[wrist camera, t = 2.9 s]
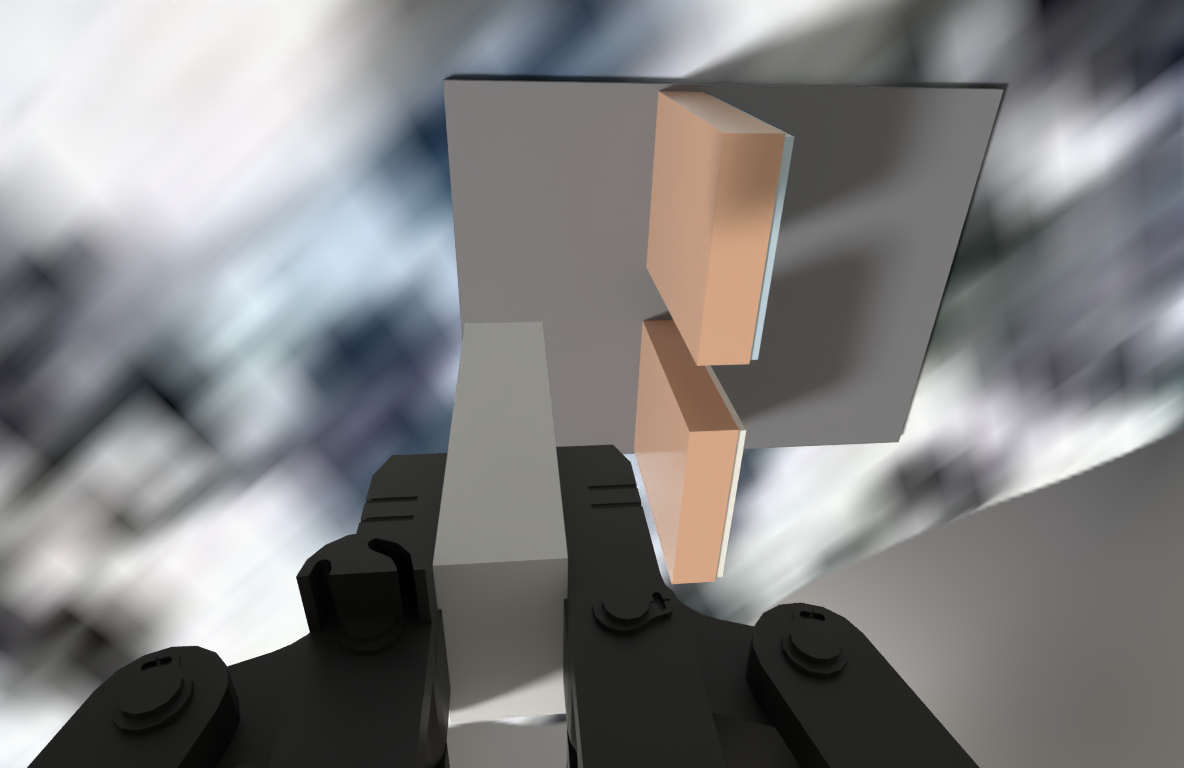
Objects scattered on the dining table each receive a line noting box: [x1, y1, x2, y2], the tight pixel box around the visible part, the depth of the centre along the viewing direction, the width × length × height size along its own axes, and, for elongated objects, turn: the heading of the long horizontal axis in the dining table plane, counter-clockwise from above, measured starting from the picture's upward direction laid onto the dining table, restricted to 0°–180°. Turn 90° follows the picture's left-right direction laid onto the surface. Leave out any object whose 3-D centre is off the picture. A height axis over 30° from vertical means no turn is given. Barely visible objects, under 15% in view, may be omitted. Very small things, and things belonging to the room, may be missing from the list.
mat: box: [443, 79, 1003, 454], centre depth 31 cm, size 17×22×1 cm
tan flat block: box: [634, 320, 746, 584], centre depth 29 cm, size 7×2×9 cm, turn 178°
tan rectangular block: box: [646, 91, 794, 366], centre depth 24 cm, size 7×2×9 cm, turn 178°
